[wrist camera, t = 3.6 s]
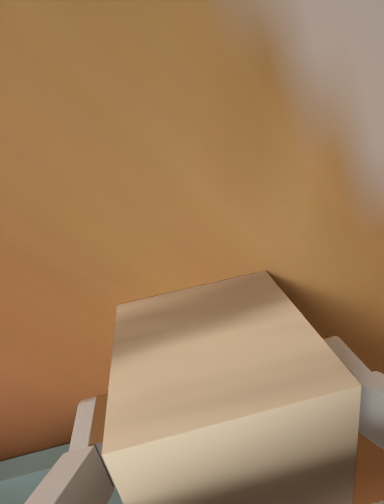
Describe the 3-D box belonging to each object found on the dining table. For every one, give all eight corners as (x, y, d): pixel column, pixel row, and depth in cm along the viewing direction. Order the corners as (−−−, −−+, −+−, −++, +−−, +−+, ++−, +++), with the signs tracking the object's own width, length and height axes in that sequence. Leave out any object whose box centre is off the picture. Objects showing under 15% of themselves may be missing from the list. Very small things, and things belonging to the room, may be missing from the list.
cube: (117, 304, 10) (101, 454, 6) (265, 270, 11) (361, 385, 6) (151, 411, 12) (160, 584, 8) (274, 380, 13) (351, 526, 8)
